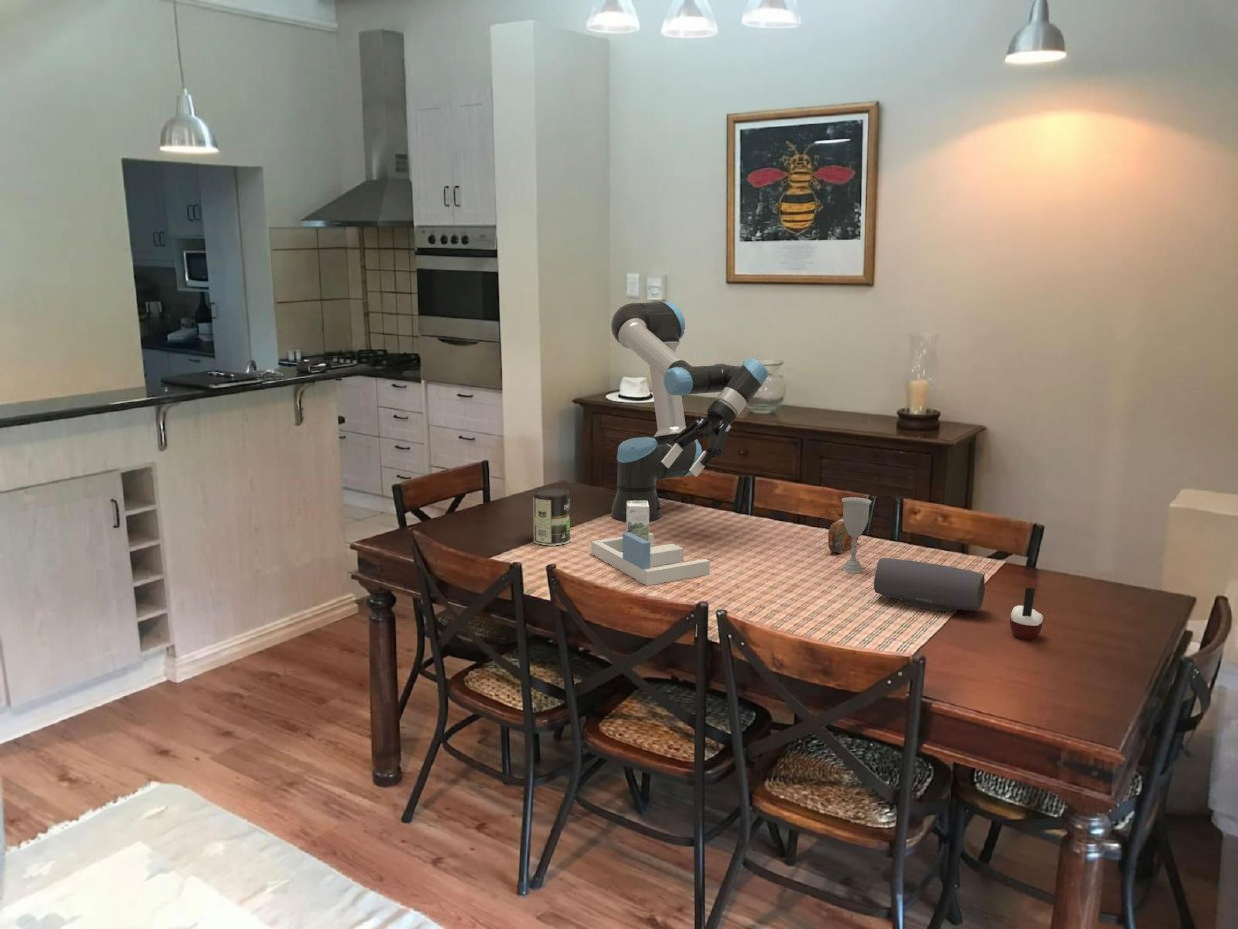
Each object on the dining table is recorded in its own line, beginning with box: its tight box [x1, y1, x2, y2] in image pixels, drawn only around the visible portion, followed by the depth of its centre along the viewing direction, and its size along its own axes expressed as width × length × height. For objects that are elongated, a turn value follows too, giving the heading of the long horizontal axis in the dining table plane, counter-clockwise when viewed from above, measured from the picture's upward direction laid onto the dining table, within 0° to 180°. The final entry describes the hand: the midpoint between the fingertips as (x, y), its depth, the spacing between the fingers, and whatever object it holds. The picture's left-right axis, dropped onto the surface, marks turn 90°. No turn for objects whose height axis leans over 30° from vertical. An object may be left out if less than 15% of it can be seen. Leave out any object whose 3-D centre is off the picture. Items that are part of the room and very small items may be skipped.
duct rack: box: [590, 532, 711, 587], centre depth 252 cm, size 29×18×10 cm, turn 29°
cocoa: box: [1009, 587, 1044, 641], centre depth 205 cm, size 10×6×12 cm, turn 137°
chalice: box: [841, 496, 872, 574], centre depth 248 cm, size 7×7×18 cm
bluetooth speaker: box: [873, 557, 986, 612], centre depth 223 cm, size 23×9×10 cm, turn 59°
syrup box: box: [625, 501, 650, 542], centre depth 259 cm, size 6×6×14 cm
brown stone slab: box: [827, 517, 859, 554], centre depth 266 cm, size 15×3×8 cm, turn 143°
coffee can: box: [532, 487, 571, 547], centre depth 272 cm, size 10×10×14 cm
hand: (678, 469), depth 260 cm, fingers open, 13 cm apart
